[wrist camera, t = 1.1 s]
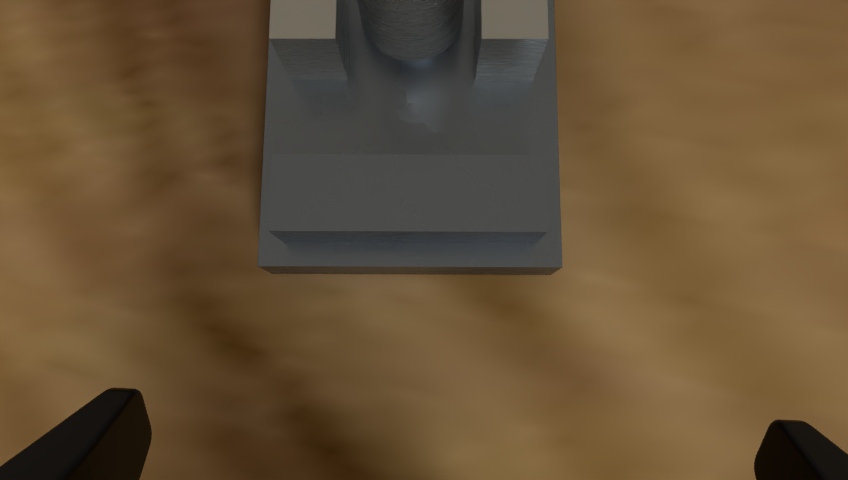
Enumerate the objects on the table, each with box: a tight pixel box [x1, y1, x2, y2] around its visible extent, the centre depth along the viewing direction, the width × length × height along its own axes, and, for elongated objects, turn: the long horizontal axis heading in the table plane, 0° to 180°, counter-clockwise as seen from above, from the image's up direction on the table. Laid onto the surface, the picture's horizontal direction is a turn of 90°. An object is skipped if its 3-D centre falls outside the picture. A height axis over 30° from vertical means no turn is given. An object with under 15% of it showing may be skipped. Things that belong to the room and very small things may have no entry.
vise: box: [258, 0, 562, 275], centre depth 22 cm, size 12×10×5 cm
